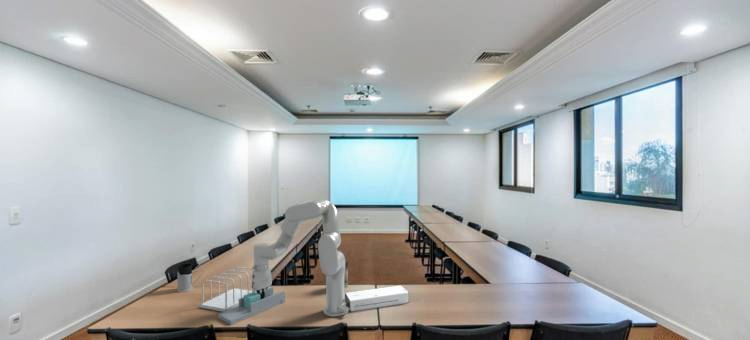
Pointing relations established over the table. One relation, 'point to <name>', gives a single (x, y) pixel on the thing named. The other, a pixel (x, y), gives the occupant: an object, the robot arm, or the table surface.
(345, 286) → the coffee box
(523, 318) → the table surface
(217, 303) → the file sorter
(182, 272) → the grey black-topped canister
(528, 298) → the table surface
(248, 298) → the teal block
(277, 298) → the sleeve
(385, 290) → the laminator
